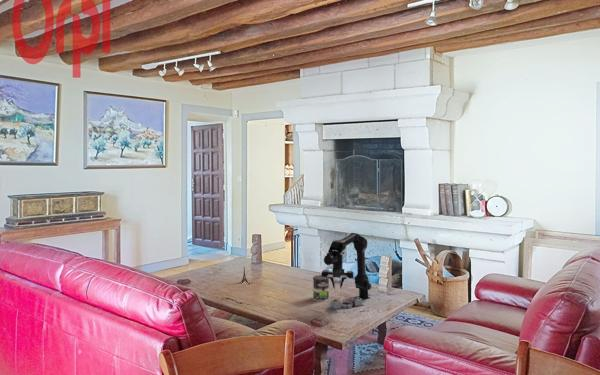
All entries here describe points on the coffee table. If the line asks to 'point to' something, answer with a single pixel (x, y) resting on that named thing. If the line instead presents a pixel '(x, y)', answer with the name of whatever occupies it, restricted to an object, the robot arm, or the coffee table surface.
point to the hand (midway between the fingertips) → (337, 288)
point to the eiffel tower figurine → (243, 277)
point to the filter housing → (346, 304)
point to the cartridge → (337, 285)
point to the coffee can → (320, 288)
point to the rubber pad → (331, 311)
